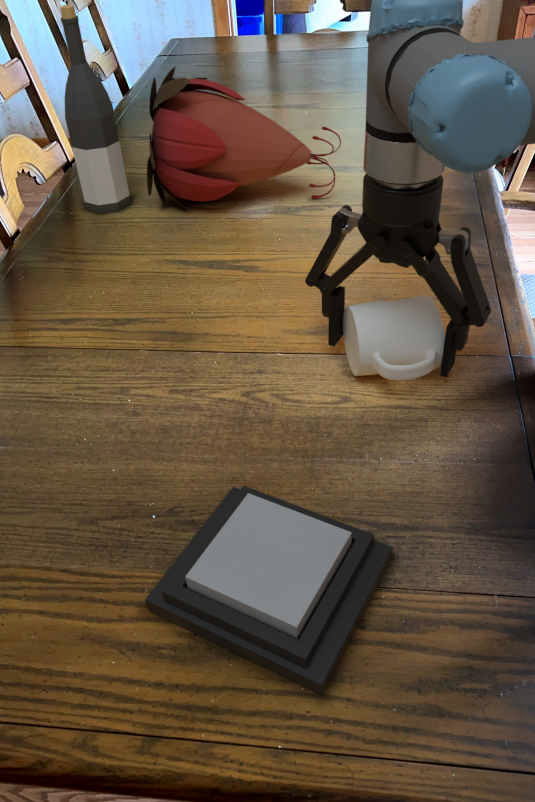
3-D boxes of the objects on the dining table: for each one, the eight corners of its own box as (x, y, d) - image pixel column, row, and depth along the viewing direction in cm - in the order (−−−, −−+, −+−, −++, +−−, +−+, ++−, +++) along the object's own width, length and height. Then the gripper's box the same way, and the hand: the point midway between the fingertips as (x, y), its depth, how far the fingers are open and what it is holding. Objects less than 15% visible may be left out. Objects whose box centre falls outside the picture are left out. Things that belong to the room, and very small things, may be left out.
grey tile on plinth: (351, 544, 60) (351, 532, 59) (297, 638, 54) (296, 627, 53) (249, 504, 64) (248, 492, 63) (187, 588, 58) (185, 576, 57)
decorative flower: (154, 227, 124) (326, 249, 121) (123, 144, 102) (333, 169, 99) (179, 121, 130) (344, 140, 127) (155, 20, 108) (353, 41, 105)
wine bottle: (123, 214, 118) (83, 11, 99) (77, 213, 119) (28, 13, 100) (138, 193, 124) (103, -1, 105) (94, 193, 125) (51, 0, 106)
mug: (340, 345, 86) (341, 288, 81) (416, 335, 87) (421, 278, 82) (365, 409, 77) (368, 349, 72) (449, 397, 78) (458, 337, 73)
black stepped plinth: (392, 558, 62) (394, 536, 60) (322, 695, 53) (321, 674, 51) (234, 497, 68) (231, 475, 67) (147, 610, 59) (141, 589, 57)
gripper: (547, 178, 65) (508, 364, 79) (304, 141, 75) (307, 312, 89) (527, 212, 60) (489, 404, 74) (269, 168, 70) (278, 344, 84)
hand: (389, 354), depth 81 cm, fingers closed on mug, 13 cm apart
